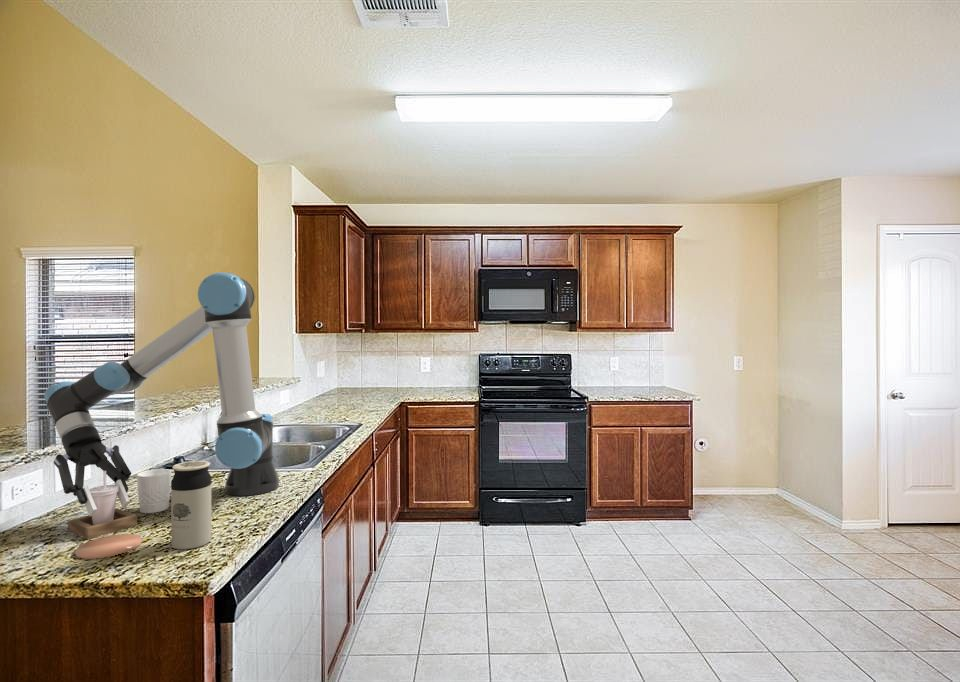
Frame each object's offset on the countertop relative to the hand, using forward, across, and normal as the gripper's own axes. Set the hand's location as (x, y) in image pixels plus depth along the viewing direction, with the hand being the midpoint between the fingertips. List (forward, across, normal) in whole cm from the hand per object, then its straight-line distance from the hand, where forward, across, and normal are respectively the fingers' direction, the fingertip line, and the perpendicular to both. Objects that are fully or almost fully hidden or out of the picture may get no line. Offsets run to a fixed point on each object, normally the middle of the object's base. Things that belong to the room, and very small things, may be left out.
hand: (110, 508), depth 125 cm
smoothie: (+1, 0, -6) cm, 7 cm away
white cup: (-1, -14, -9) cm, 17 cm away
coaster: (+12, +5, +4) cm, 13 cm away
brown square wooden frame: (+1, 0, -6) cm, 7 cm away
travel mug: (+21, -6, +13) cm, 25 cm away
